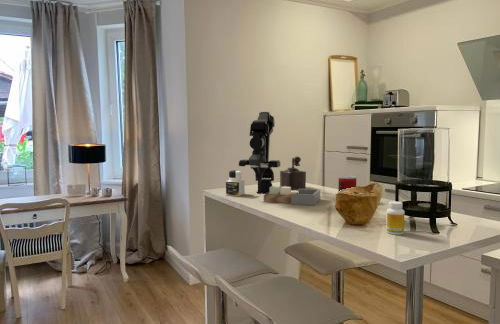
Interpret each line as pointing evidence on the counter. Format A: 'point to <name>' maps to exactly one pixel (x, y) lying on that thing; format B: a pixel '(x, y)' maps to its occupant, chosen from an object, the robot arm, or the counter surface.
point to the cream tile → (285, 190)
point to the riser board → (278, 197)
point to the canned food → (346, 182)
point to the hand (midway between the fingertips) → (259, 181)
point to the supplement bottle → (395, 218)
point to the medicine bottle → (235, 184)
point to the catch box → (306, 197)
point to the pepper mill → (293, 176)
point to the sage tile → (274, 189)
